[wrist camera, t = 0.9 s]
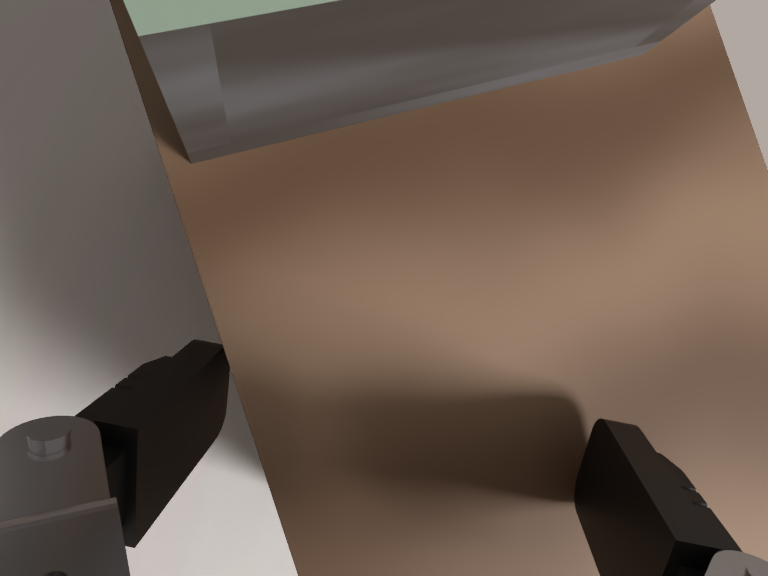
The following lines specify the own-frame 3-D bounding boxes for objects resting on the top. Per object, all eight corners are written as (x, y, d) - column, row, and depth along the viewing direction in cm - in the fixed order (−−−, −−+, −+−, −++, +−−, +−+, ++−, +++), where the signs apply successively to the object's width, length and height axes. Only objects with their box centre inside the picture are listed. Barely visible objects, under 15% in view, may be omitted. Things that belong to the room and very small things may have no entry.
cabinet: (183, 128, 37) (-245, -985, 6) (364, 87, 41) (701, -756, 9) (305, 498, 37) (545, 1434, 5) (478, 426, 40) (1239, 744, 9)
